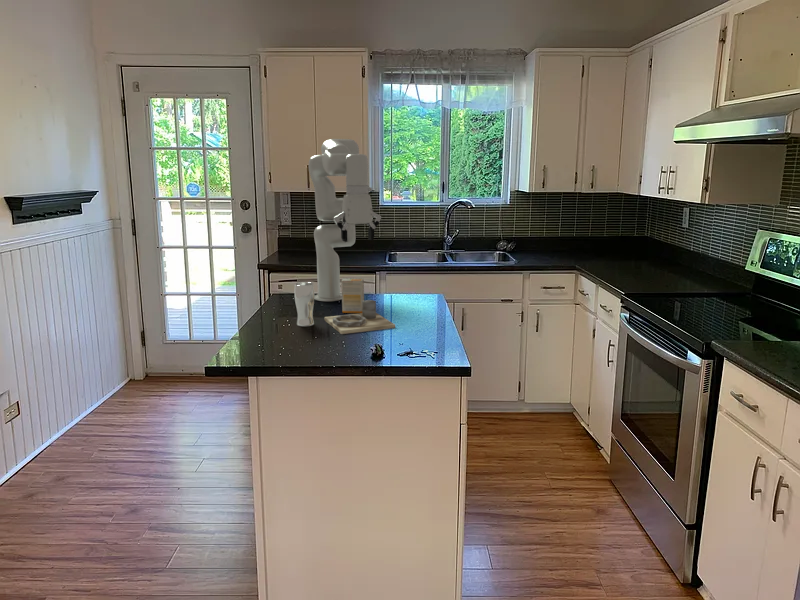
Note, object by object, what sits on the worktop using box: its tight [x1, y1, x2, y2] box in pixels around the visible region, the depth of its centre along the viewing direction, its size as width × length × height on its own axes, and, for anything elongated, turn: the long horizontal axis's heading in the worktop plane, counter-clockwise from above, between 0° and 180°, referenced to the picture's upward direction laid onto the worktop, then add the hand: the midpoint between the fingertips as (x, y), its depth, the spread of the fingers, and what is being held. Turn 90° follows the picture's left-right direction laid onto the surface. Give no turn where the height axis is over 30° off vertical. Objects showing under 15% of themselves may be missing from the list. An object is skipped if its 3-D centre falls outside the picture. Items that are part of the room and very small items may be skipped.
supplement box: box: [340, 277, 365, 314], centre depth 230 cm, size 8×5×13 cm, turn 84°
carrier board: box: [324, 299, 396, 335], centre depth 213 cm, size 20×20×7 cm
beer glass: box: [294, 281, 315, 328], centre depth 211 cm, size 7×7×15 cm
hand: (358, 240), depth 206 cm, fingers open, 9 cm apart
